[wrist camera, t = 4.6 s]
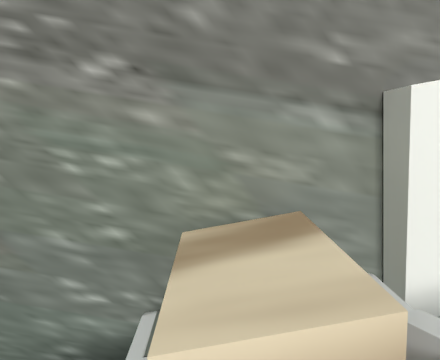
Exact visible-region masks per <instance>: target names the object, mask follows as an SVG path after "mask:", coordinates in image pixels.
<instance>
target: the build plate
mask: <svg viewBox="0 0 440 360" xmlns="http://www.w3.org/2000/svg"><path fill="white" fill-rule="evenodd" d="M383 283H384V284H385V285H386V286H387V287H389V288H390V289H391V290H392V291H393V292H394V293H395V294H396V295H398V296H399V297H400V298H401V299H402V300H403V301H404V302H406V303H407V304H408V305H409V306H410V307H411V308H412V309H413V310H416V309H420V310H422V311H424V312H427V313H429V314H431V315H434V316H436V317H438V316H440V80H438V81H432V82H427V83H421V84H416V85H411V86H406V87H402V88H397V89H393V90H388V91H384V92H383Z"/></svg>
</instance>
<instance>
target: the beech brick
mask: <svg viewBox="0 0 440 360" xmlns="http://www.w3.org/2000/svg"><path fill="white" fill-rule="evenodd" d="M407 323H408V311H407V310H406V309H405V308H404V307H403V306H402V305H401V304H400V303H399V302H398V301H397V300H396V299H394V298H393V297H392V296H391V295H390V294H389V293H388V292H387V291H386V290H385V289H384V288H383V287H382V286H380V285H379V284H378V283H377V282H376V281H375V280H374V279H373V278H372V277H371V276H370V275H369V274H368V273H366V272H365V271H364V270H363V269H362V268H361V267H360V266H359V265H358V264H357V263H356V262H355V261H354V260H352V259H351V258H350V257H349V256H348V255H347V254H346V253H345V252H344V251H343V250H342V249H341V248H340V247H339V246H337V245H336V244H335V243H334V242H333V241H332V240H331V239H330V238H329V237H328V236H327V235H326V234H325V233H323V232H322V231H321V230H320V229H319V228H318V227H317V226H316V225H315V224H314V223H313V222H312V221H311V220H309V219H308V218H307V217H306V216H305V215H304V214H303V213H302V212H301V211H298V212H293V213H287V214H282V215H276V216H271V217H265V218H260V219H254V220H248V221H243V222H237V223H232V224H226V225H221V226H215V227H210V228H204V229H199V230H193V231H187V232H182V235H181V239H180V243H179V246H178V250H177V253H176V257H175V260H174V264H173V267H172V271H171V274H170V278H169V282H168V285H167V289H166V292H165V296H164V299H163V303H162V306H161V310H160V313H159V317H158V321H157V324H156V328H155V331H154V335H153V338H152V342H151V345H150V349H149V353H148V356H147V359H148V360H406V346H407Z"/></svg>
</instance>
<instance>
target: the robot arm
mask: <svg viewBox="0 0 440 360" xmlns="http://www.w3.org/2000/svg"><path fill="white" fill-rule="evenodd" d="M368 274H369V275H370V276H371V277H372V278H373V279H374V280H375V281H376V282H377V283H378V284H379V285H380V286H382V287H383V288H384V289H385V290H386V291H387V292H388V293H389V294H390V295H391V296H392V297H393V298H394V299H396V300H397V301H398V302H399V303H400V304H401V305H402V306H403V307H404V308H405V309H406V310H407V311H408V323H407V346H406V360H440V318H438V317H436V316H434V315H431V314H429V313H427V312H424V311H422V310H420V309H416V310H413V309H412V308H411V307H410V306H409V305H408V304H407V303H406V302H404V301H403V300H402V299H401V298H400V297H399V296H398V295H396V294H395V293H394V292H393V291H392V290H391V289H390V288H389V287H387V286H386V285H385V284H384V283H383V282H382V281H381V280H380V279H378V278H377V277H376V276H375V275H374V274H372V273H368ZM159 313H160V310H159V311H153V312H146V313H144V314H143V316H142V317H141V320H140V322H139V325H138V328H137V330H136V333H135V336H134V338H133V341H132V344H131V346H130V349H129V352H128V354H127V357H126V360H148V359H147V356H148V353H149V349H150V345H151V342H152V338H153V335H154V331H155V328H156V324H157V321H158V317H159Z"/></svg>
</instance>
